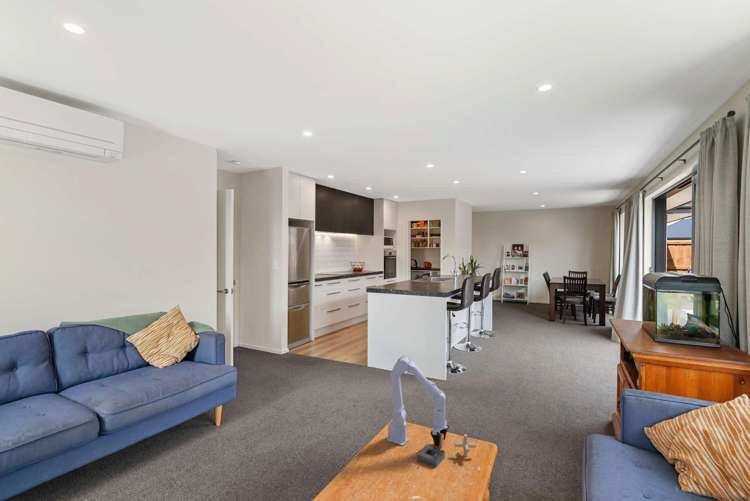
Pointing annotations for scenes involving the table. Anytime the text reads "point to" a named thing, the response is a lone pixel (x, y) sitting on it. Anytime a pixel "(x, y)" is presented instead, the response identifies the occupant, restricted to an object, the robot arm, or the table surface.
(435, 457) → the grey square frame
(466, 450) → the pipe connector
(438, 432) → the tan wooden block
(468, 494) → the table surface
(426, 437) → the table surface
